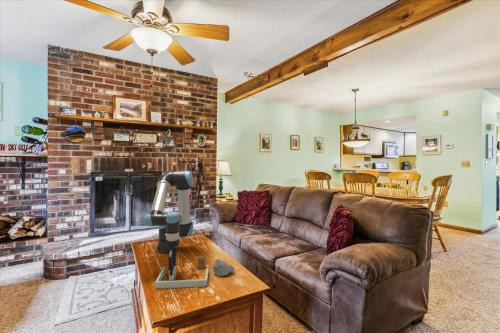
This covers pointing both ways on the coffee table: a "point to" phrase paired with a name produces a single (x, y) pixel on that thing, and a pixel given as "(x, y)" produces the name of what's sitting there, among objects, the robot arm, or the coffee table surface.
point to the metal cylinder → (174, 272)
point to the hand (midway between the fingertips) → (172, 278)
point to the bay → (180, 281)
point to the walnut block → (201, 262)
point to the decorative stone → (222, 268)
